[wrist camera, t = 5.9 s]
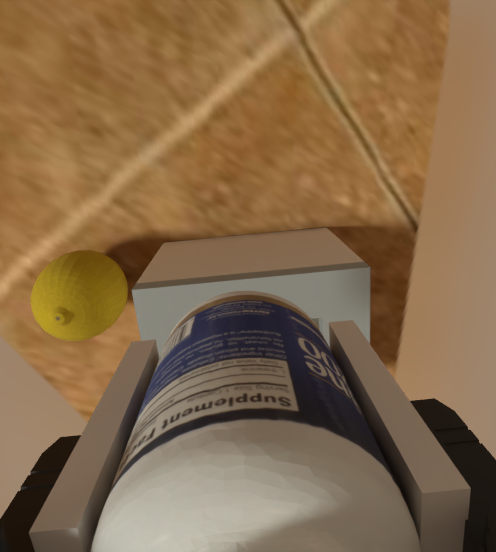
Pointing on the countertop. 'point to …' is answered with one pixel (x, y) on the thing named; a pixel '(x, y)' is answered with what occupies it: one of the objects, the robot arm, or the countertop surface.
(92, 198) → the countertop surface
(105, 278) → the lemon
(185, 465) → the pill bottle
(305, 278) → the drop box
